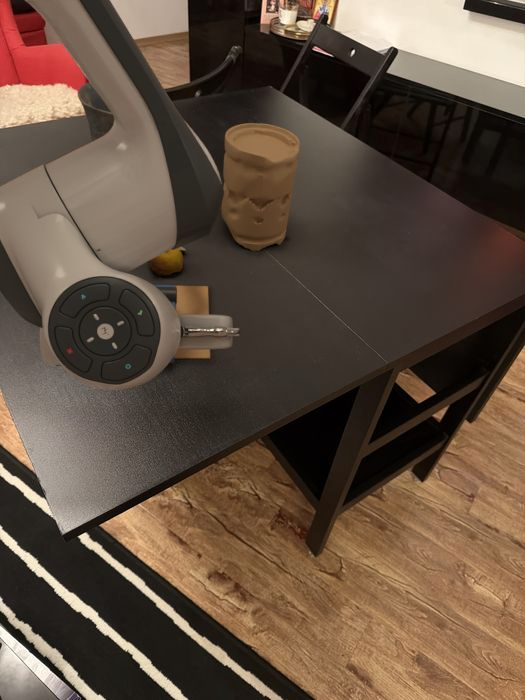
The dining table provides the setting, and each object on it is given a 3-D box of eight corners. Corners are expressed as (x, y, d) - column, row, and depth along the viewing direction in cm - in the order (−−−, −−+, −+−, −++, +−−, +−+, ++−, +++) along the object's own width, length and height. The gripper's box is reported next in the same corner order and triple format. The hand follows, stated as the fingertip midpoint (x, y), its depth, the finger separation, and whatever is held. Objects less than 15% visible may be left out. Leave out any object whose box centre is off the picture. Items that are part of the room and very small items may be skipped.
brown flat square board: (94, 359, 67) (94, 357, 66) (108, 285, 77) (108, 284, 77) (210, 359, 69) (210, 357, 69) (207, 287, 80) (208, 286, 79)
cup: (72, 177, 99) (57, 100, 88) (110, 143, 111) (101, 72, 100) (153, 195, 97) (148, 120, 87) (183, 159, 110) (182, 89, 99)
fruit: (182, 246, 87) (181, 229, 84) (195, 274, 82) (195, 257, 79) (136, 253, 84) (134, 235, 81) (146, 282, 79) (144, 264, 76)
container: (298, 233, 94) (315, 142, 81) (256, 259, 86) (267, 163, 73) (250, 207, 98) (258, 117, 85) (206, 229, 91) (209, 134, 78)
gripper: (242, 300, 47) (231, 307, 61) (23, 296, 44) (63, 305, 58) (242, 363, 48) (231, 356, 61) (24, 364, 45) (63, 357, 58)
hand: (148, 331), depth 60 cm, fingers closed
